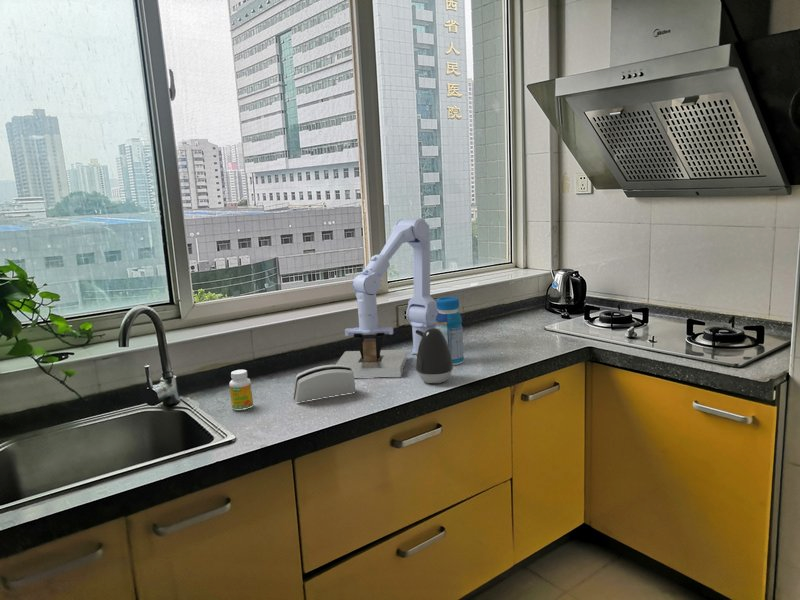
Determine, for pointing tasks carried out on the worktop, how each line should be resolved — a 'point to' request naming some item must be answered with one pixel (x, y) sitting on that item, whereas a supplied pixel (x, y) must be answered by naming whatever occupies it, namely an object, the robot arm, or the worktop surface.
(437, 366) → the pump dispenser
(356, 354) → the grey flat square slab
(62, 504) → the worktop surface
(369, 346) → the wedge peg
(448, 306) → the beverage bottle
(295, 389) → the napkin holder
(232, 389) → the supplement bottle
